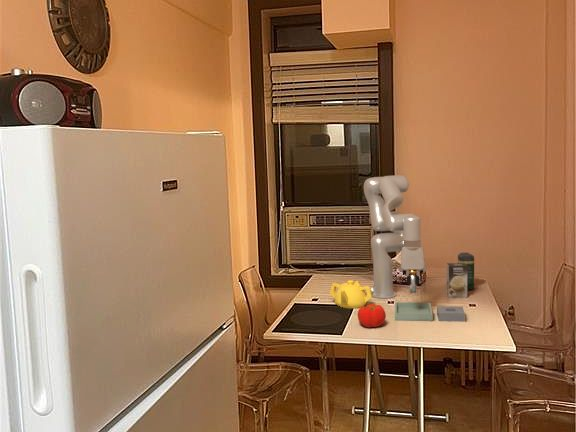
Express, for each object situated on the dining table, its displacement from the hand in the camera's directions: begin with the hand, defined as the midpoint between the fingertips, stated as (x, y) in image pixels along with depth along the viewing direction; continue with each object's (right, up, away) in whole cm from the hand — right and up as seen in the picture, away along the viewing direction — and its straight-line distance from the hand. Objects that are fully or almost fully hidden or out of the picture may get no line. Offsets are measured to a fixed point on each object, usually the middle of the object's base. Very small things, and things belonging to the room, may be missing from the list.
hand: (413, 284), depth 270 cm
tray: (0, -14, +2) cm, 14 cm away
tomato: (-20, -17, -11) cm, 28 cm away
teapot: (-25, -13, +22) cm, 36 cm away
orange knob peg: (0, -4, 0) cm, 4 cm away
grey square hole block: (+15, -14, -5) cm, 21 cm away
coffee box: (+28, -10, +30) cm, 42 cm away
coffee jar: (+37, -7, +45) cm, 58 cm away
